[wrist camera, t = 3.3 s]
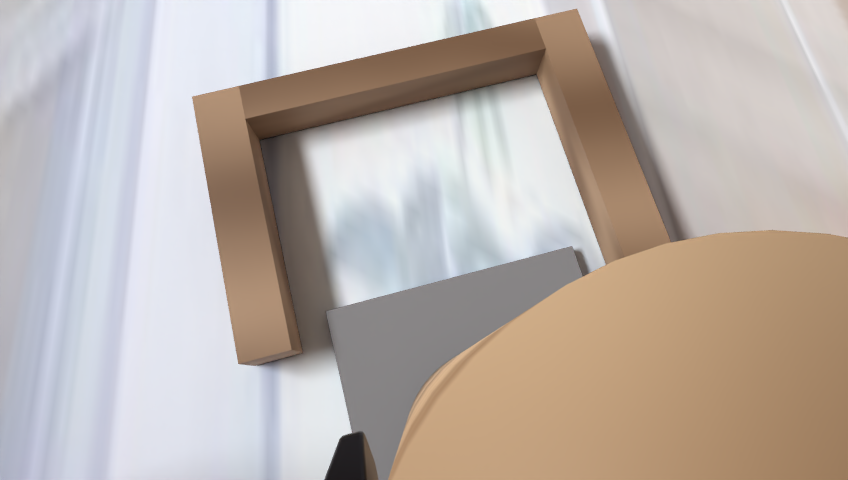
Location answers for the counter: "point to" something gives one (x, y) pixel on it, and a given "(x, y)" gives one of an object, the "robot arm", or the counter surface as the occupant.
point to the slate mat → (428, 338)
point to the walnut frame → (393, 87)
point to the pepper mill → (655, 373)
